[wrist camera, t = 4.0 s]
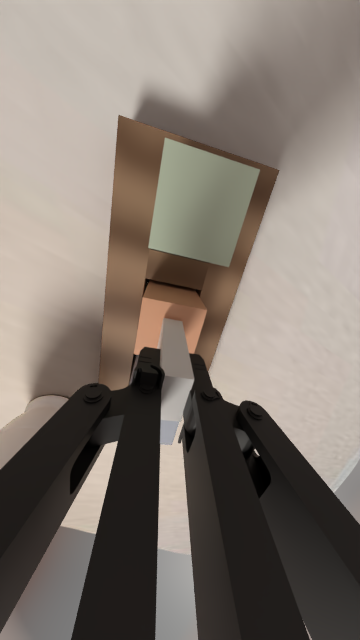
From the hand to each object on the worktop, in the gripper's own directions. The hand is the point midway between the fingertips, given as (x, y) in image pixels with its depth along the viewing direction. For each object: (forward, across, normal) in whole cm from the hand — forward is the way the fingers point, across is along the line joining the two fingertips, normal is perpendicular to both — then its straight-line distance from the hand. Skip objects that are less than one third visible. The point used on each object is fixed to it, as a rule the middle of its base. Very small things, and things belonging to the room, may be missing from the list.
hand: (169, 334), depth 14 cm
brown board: (+8, 0, 0) cm, 8 cm away
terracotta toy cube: (+8, 0, 0) cm, 8 cm away
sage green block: (+6, 0, +9) cm, 11 cm away
